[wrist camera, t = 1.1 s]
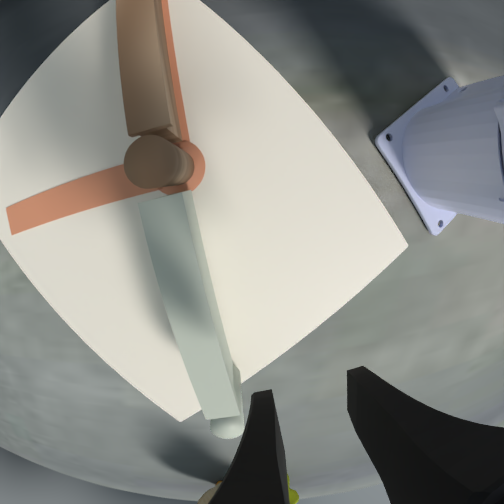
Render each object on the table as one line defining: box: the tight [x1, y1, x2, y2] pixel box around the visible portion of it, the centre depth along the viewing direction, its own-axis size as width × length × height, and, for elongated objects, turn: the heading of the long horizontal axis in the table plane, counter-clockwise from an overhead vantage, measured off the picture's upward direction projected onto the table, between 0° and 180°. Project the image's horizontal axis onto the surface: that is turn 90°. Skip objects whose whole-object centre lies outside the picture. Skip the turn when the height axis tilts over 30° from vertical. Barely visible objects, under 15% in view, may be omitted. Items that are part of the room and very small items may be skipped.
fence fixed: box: [116, 0, 194, 189], centre depth 11 cm, size 2×15×6 cm, turn 11°
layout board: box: [0, 0, 408, 422], centre depth 16 cm, size 21×26×1 cm
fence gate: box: [138, 190, 244, 439], centre depth 15 cm, size 2×13×5 cm, turn 10°
